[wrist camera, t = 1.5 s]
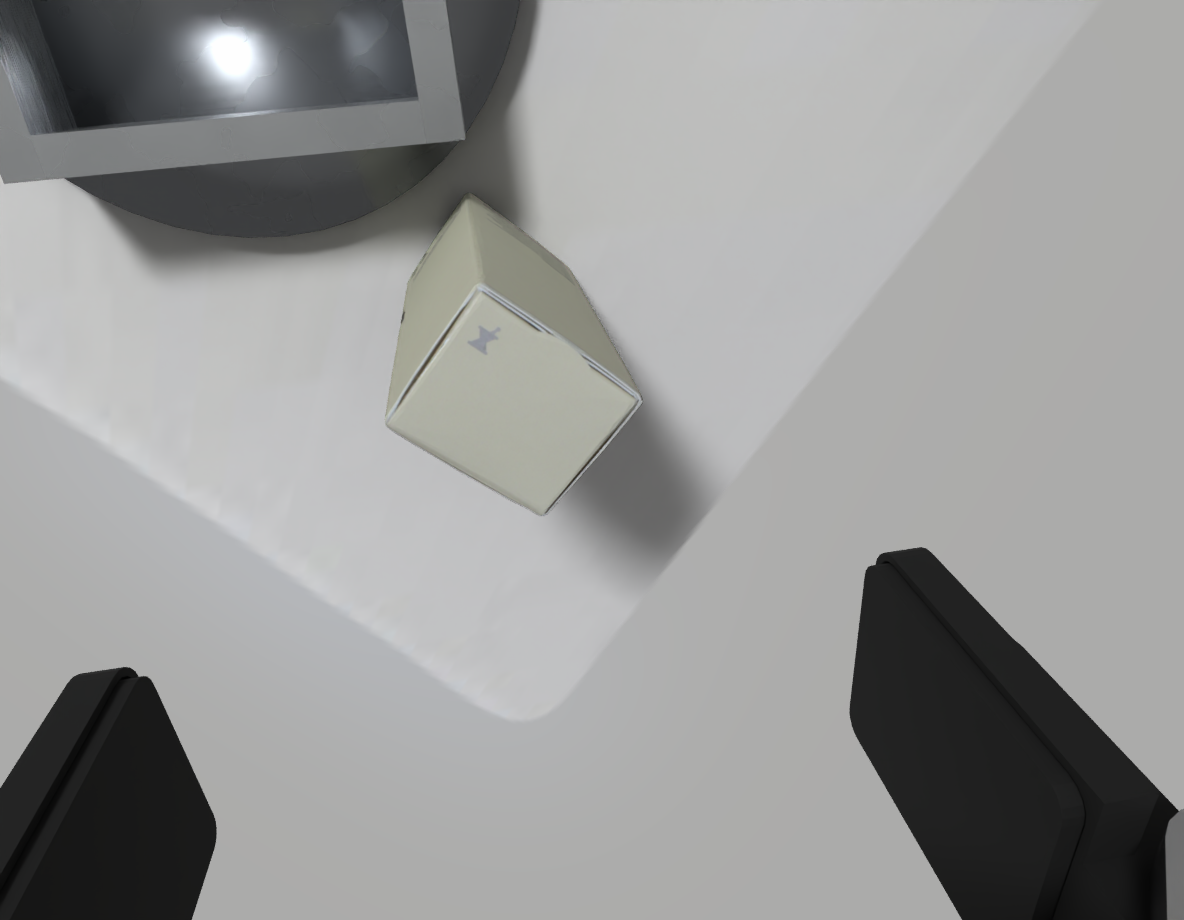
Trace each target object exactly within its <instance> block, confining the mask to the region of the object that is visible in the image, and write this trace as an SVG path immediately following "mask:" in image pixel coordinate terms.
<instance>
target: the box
mask: <svg viewBox="0 0 1184 920" xmlns="http://www.w3.org/2000/svg"><path fill="white" fill-rule="evenodd" d="M642 402H643V399H642V396H641V394H640V392H639V390H638V388H637V386H636V385H635V383H634V381H633V379H632V377H631V375H630V374H629V372H628V370H627V368H626V366H625V365H624V363H623V361H622V359H621V358H620V356H619V354H618V352H617V351H616V349H615V347H614V346H613V344H612V342H611V340H610V338H609V337H608V335H607V333H606V331H605V330H604V328H603V326H602V324H601V323H600V321H599V319H598V317H597V315H596V314H595V312H594V310H593V309H592V307H591V305H590V304H589V302H588V300H587V298H586V297H585V295H584V293H583V291H582V290H581V288H580V286H579V284H578V283H577V281H576V279H575V277H574V275H573V274H572V272H571V270H570V269H569V267H567V266H566V265H565V264H564V263H563V262H562V261H560V260H559V259H558V258H557V257H556V256H554V255H553V254H552V253H551V252H549V251H548V250H547V249H546V248H544V247H543V246H542V245H540V244H539V243H538V242H537V241H535V240H534V239H533V238H531V237H530V236H529V235H527V234H526V233H525V232H524V231H522V230H521V229H520V228H518V227H517V226H516V225H514V224H513V223H512V222H510V221H509V220H508V219H506V218H505V217H503V216H502V215H501V214H499V213H498V212H497V211H495V210H494V209H493V208H491V207H490V206H488V205H487V204H486V203H484V202H483V201H482V200H480V199H479V198H477V197H476V196H475V195H473V194H471V193H467V194H465V195H464V197H463V198H462V200H461V201H460V203H459V204H458V206H457V207H456V208H455V210H454V211H453V213H452V214H451V216H450V217H449V219H448V220H447V221H446V223H445V224H444V226H443V227H442V229H441V230H440V232H439V233H438V235H437V236H436V238H435V239H434V241H433V242H432V244H431V245H430V247H429V248H428V250H427V252H426V253H425V255H424V256H423V258H422V259H421V261H420V262H419V264H418V266H417V267H416V269H415V271H414V272H413V274H412V276H411V277H410V279H409V281H408V283H407V290H406V296H405V301H404V308H403V315H402V320H401V327H400V331H399V336H398V343H397V349H396V354H395V360H394V366H393V371H392V377H391V384H390V389H389V396H388V403H387V409H386V415H385V424H386V426H387V427H388V428H389V429H390V430H391V431H393V432H394V433H396V434H397V435H399V436H401V437H402V438H404V439H405V440H407V441H409V442H410V443H412V444H414V445H415V446H417V447H418V448H420V449H422V450H423V451H425V452H427V453H428V454H430V455H432V456H434V457H435V458H437V459H439V460H440V461H442V462H444V463H445V464H447V465H449V466H451V467H452V468H454V469H456V470H457V471H459V472H461V473H462V474H464V475H466V476H467V477H469V478H471V479H473V480H474V481H476V482H478V483H480V484H482V485H483V486H485V487H487V488H489V489H491V490H492V491H494V492H496V493H497V494H499V495H501V496H503V497H505V498H507V499H508V500H510V501H512V502H514V503H516V504H518V505H520V506H522V507H524V508H526V509H528V510H530V511H532V512H533V513H535V514H537V515H540V516H545V515H547V514H548V513H549V512H550V511H551V510H552V509H553V507H554V506H555V505H556V504H557V503H558V502H559V500H560V499H561V498H562V497H563V496H564V495H565V494H566V492H567V491H568V490H569V489H570V488H571V487H572V486H573V485H574V484H575V483H576V482H577V480H578V479H579V478H580V477H581V476H582V475H583V474H584V472H585V471H586V470H587V469H588V468H589V466H590V465H591V464H592V463H593V462H594V461H595V460H596V459H597V458H598V456H599V455H600V454H601V453H602V452H603V451H604V450H605V448H606V447H607V446H608V445H609V444H610V442H611V441H612V440H613V439H614V438H615V436H616V435H617V434H618V433H619V431H620V430H621V429H622V428H623V427H624V425H625V424H626V423H627V422H628V421H629V419H630V418H631V417H632V416H633V414H634V413H635V412H636V411H637V410H638V408H639V407H640V406H641V405H642Z"/></svg>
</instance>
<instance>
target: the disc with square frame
mask: <svg viewBox="0 0 1184 920" xmlns="http://www.w3.org/2000/svg"><path fill="white" fill-rule="evenodd" d="M519 1H520V0H0V175H1V177H2V179H3V182H4V184H7V183H18V182H28V181H39V180H49V179H60V178H65V179H67V180H68V181H70V182H72V183H73V184H75V185H77V186H79V187H80V188H82V189H84V190H85V191H87V192H89V193H90V194H92V195H94V196H96V197H99V198H101V199H103V200H105V201H107V202H110V203H112V204H114V205H116V206H118V207H121V208H123V209H125V210H127V211H129V212H131V213H134V214H137V215H140V216H143V217H146V218H149V219H152V220H155V221H158V222H161V223H164V224H167V225H170V226H174V227H179V228H184V229H188V230H193V231H198V232H203V233H207V234H214V235H225V236H237V237H248V238H252V237H278V236H290V235H296V234H302V233H308V232H314V231H319V230H324V229H327V228H330V227H333V226H336V225H339V224H342V223H346V222H349V221H352V220H355V219H357V218H359V217H361V216H363V215H366V214H368V213H370V212H372V211H374V210H376V209H378V208H380V207H382V206H384V205H386V204H388V203H389V202H391V201H392V200H394V199H395V198H397V197H398V196H400V195H401V194H403V193H404V192H406V191H407V190H409V189H410V188H412V187H413V186H415V185H416V184H417V183H418V182H420V181H421V180H422V179H423V178H424V177H425V176H426V175H427V174H428V173H429V172H431V171H432V170H433V169H434V168H435V167H436V166H437V165H438V164H439V163H441V162H442V161H443V160H444V158H445V157H446V156H447V155H448V154H449V152H450V151H451V150H452V149H453V148H454V146H455V145H456V144H457V143H458V142H459V140H465V135H466V132H467V130H468V129H469V127H470V125H471V124H472V122H473V121H474V119H475V117H476V116H477V114H478V113H479V111H480V109H481V108H482V106H483V105H484V103H485V101H486V100H487V98H488V95H489V93H490V91H491V89H492V87H493V84H494V82H495V80H496V78H497V76H498V73H499V71H500V69H501V67H502V65H503V62H504V58H505V55H506V52H507V49H508V46H509V42H510V39H511V36H512V33H513V30H514V26H515V23H516V17H517V12H518V6H519Z"/></svg>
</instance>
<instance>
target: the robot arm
mask: <svg viewBox="0 0 1184 920" xmlns="http://www.w3.org/2000/svg"><path fill="white" fill-rule="evenodd" d="M850 719H851V723H852V727H853V730H854V733H855V735H856V737H857V739H858V740H859V742H860V744H861V746H862V747H863V749H864V751H865V752H866V754H867V756H868V757H869V759H870V761H871V763H872V765H873V766H874V768H875V770H876V771H877V773H878V775H879V777H880V778H881V780H882V782H883V784H884V785H885V787H886V789H887V791H888V792H889V794H890V796H891V797H892V799H893V801H894V803H895V804H896V806H897V808H898V810H899V811H900V813H901V815H902V817H903V818H904V820H905V822H906V823H907V825H908V827H909V829H910V830H911V832H912V834H913V836H914V837H915V839H916V841H917V842H918V844H919V846H920V848H921V849H922V851H923V853H924V855H925V856H926V858H927V860H928V861H929V863H930V865H931V867H932V868H933V870H934V872H935V874H936V875H937V877H938V879H939V881H940V882H941V884H942V886H943V887H944V889H945V891H946V893H947V894H948V896H949V898H950V900H951V901H952V903H953V905H954V907H955V908H956V910H957V911H958V913H959V915H960V917H961V919H962V920H1184V809H1182V810H1180V811H1178V810H1177V809H1176V808H1175V806H1173V804H1172V803H1171V802H1170V801H1169V800H1168V799H1167V798H1166V797H1165V796H1164V795H1163V794H1162V793H1161V792H1160V791H1159V790H1158V789H1157V788H1156V787H1155V785H1154V784H1153V783H1151V781H1150V780H1149V779H1148V778H1147V777H1146V776H1145V775H1144V774H1143V773H1142V772H1141V771H1140V770H1139V769H1138V768H1137V767H1136V766H1135V764H1134V763H1133V762H1132V761H1131V760H1130V759H1129V758H1128V757H1127V756H1126V755H1125V754H1124V753H1123V752H1122V751H1121V750H1120V749H1119V748H1118V747H1117V746H1116V744H1115V743H1114V742H1113V741H1112V740H1111V739H1110V738H1109V737H1108V736H1107V735H1106V734H1105V733H1104V732H1103V731H1102V730H1101V729H1100V728H1099V727H1098V725H1097V724H1096V723H1095V722H1094V721H1093V720H1092V719H1091V718H1090V717H1089V716H1088V715H1087V714H1086V713H1085V712H1084V711H1083V710H1082V709H1081V708H1080V707H1079V706H1078V705H1077V703H1076V702H1075V701H1073V699H1072V698H1071V697H1070V696H1069V695H1068V694H1067V693H1066V692H1065V691H1064V690H1063V689H1062V688H1061V687H1060V686H1059V685H1058V683H1057V682H1056V681H1055V680H1054V679H1053V678H1052V677H1051V676H1050V675H1049V674H1048V673H1047V672H1046V671H1045V670H1044V669H1043V668H1042V667H1041V666H1040V664H1038V662H1037V661H1036V660H1035V659H1034V658H1033V657H1032V656H1031V655H1030V654H1029V653H1028V652H1027V651H1026V650H1025V649H1024V648H1023V647H1022V646H1021V645H1020V644H1019V643H1017V642H1016V641H1015V640H1014V639H1013V638H1012V637H1011V636H1010V635H1009V634H1008V633H1007V632H1006V631H1005V630H1004V629H1003V628H1002V627H1001V626H1000V625H999V624H998V622H996V620H995V619H994V618H993V617H992V616H991V615H990V614H989V613H988V612H987V611H986V610H985V609H984V608H983V607H982V606H981V605H980V604H979V602H978V601H977V600H976V599H975V598H974V597H973V596H972V595H971V594H970V593H969V592H968V591H967V590H966V589H965V588H964V587H963V586H962V584H961V583H960V582H959V581H958V580H957V579H956V578H955V577H954V576H953V575H952V574H951V573H950V572H949V571H948V570H947V569H946V568H945V567H944V565H943V564H942V563H941V562H940V561H939V560H938V559H937V558H936V557H935V556H934V555H933V554H932V553H931V552H930V551H929V550H927V549H926V548H922V547H920V548H913V549H907V550H901V551H893V552H887V553H883V554H881V555H880V556H879V557H878V558H877V561H876V565H873V566H870V567H868V568H867V570H866V573H865V579H864V589H863V597H862V606H861V614H860V623H859V632H858V640H857V649H856V658H855V667H854V675H853V684H852V692H851V701H850ZM215 843H216V821H215V818H214V815H213V813H212V810H211V808H210V806H209V804H208V802H207V799H206V797H205V795H204V793H203V791H202V789H201V786H200V784H199V782H198V780H197V778H196V775H195V773H194V771H193V769H192V767H191V765H190V762H189V760H188V758H187V756H186V754H185V751H184V749H183V747H182V745H181V743H180V741H179V738H178V736H177V734H176V732H175V730H174V727H173V725H172V723H171V721H170V719H169V717H168V715H167V712H166V710H165V708H164V706H163V704H162V701H161V699H160V697H159V695H158V693H157V690H156V688H155V687H154V684H153V683H152V681H151V680H150V679H149V678H148V677H146V676H143V677H138V675H137V674H136V672H135V671H134V670H133V669H131V668H128V667H123V668H116V669H109V670H102V671H96V672H90V673H82V674H78V675H76V676H74V677H73V678H72V679H71V680H70V681H69V682H68V683H67V685H66V687H65V688H64V690H63V691H62V693H61V694H60V696H59V698H58V699H57V701H56V702H55V704H54V705H53V707H52V708H51V710H50V712H49V713H48V715H47V716H46V718H45V720H44V721H43V722H42V724H41V726H40V728H39V729H38V730H37V732H36V734H35V735H34V737H33V738H32V740H31V741H30V743H29V744H28V746H27V747H26V749H25V751H24V752H23V754H22V755H21V757H20V759H19V760H18V762H17V763H16V765H15V766H14V768H13V769H12V771H11V773H10V774H9V776H8V777H7V779H6V780H5V782H4V783H3V785H2V787H1V788H0V920H192V917H193V913H194V911H195V907H196V904H197V901H198V898H199V895H200V892H201V889H202V886H203V883H204V879H205V876H206V873H207V870H208V867H209V864H210V861H211V858H212V854H213V851H214V847H215Z"/></svg>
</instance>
